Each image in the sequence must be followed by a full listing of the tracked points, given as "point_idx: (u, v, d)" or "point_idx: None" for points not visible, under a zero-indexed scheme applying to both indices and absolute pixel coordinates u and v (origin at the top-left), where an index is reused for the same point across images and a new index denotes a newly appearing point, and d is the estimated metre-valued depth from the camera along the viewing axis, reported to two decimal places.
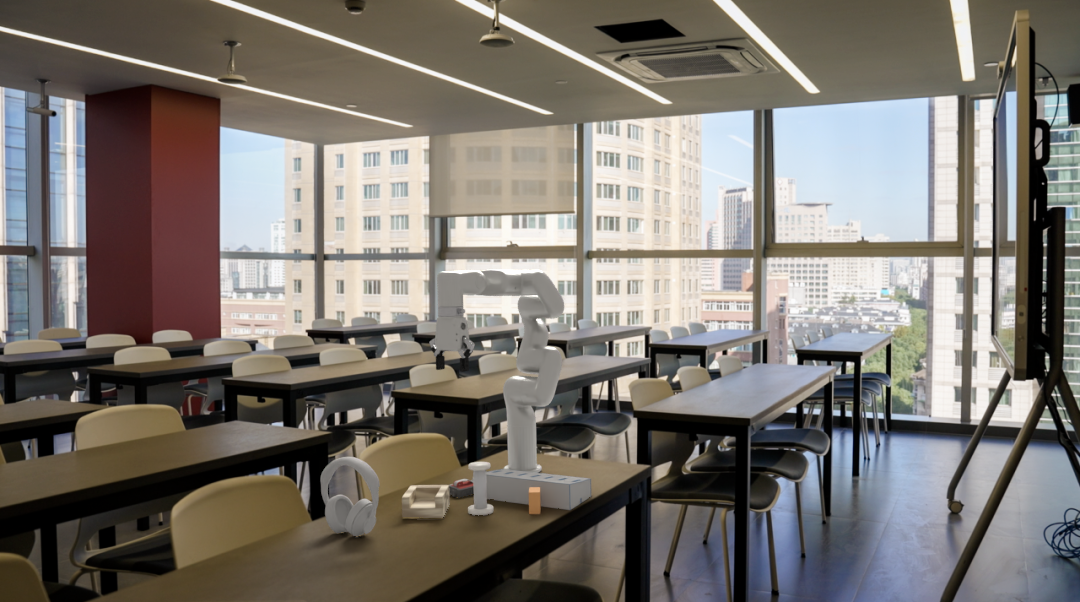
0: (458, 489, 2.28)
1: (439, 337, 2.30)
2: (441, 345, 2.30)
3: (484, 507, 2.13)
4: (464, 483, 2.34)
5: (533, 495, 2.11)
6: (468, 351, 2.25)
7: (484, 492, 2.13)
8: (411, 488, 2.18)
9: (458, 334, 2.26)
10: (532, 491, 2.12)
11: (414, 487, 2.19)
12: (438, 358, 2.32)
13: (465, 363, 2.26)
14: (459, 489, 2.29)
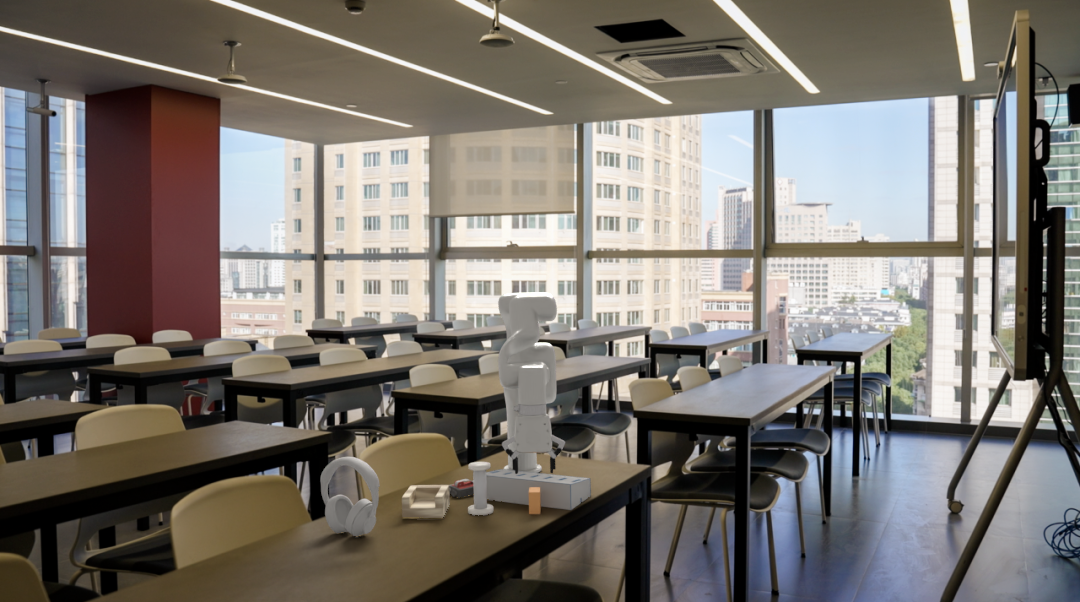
0: (458, 489, 2.28)
1: None
2: None
3: (484, 507, 2.13)
4: (465, 483, 2.34)
5: (533, 495, 2.11)
6: None
7: (484, 492, 2.13)
8: (411, 488, 2.18)
9: None
10: (532, 491, 2.12)
11: (414, 487, 2.19)
12: (550, 458, 2.14)
13: None
14: (459, 489, 2.28)
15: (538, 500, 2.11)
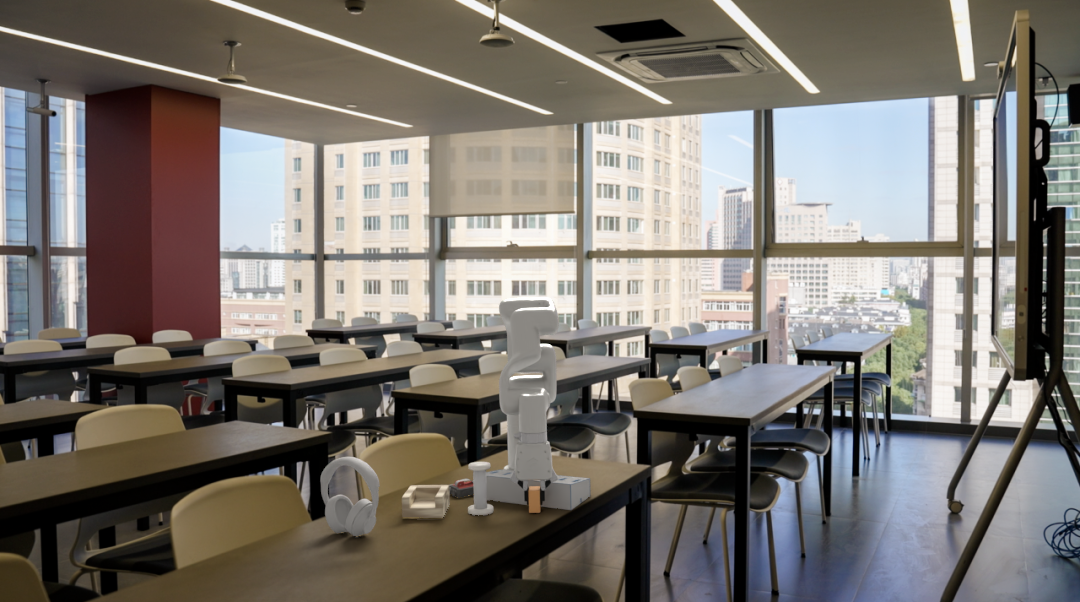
0: (458, 489, 2.28)
1: None
2: None
3: (484, 507, 2.13)
4: (466, 483, 2.34)
5: (533, 494, 2.11)
6: None
7: (484, 492, 2.13)
8: (411, 488, 2.18)
9: None
10: (532, 489, 2.12)
11: (414, 487, 2.19)
12: None
13: None
14: (459, 489, 2.29)
15: (538, 498, 2.11)
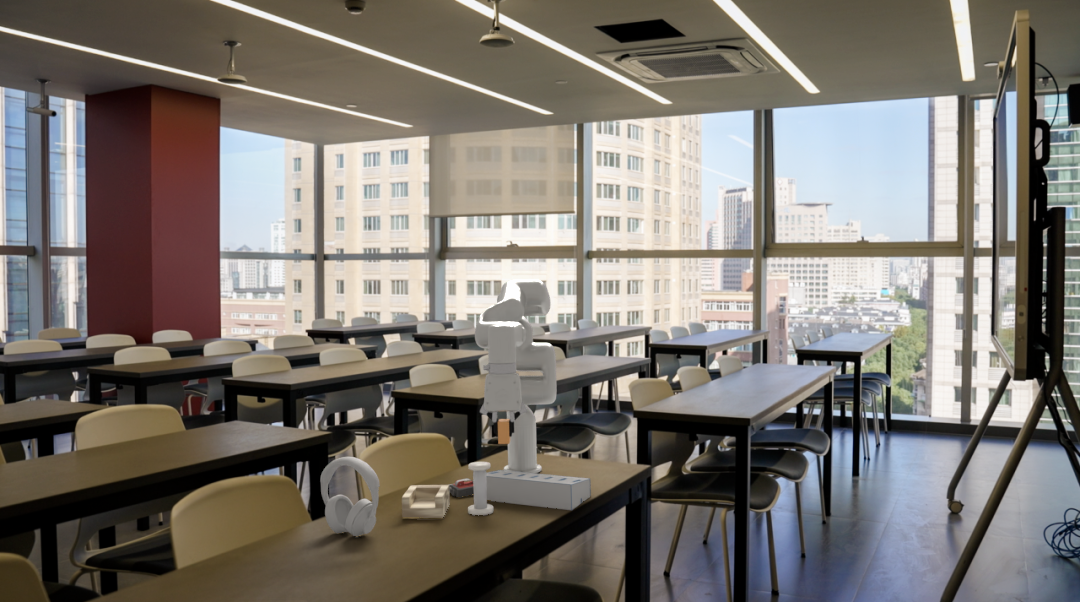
0: (458, 488, 2.29)
1: None
2: None
3: (484, 507, 2.13)
4: (466, 483, 2.34)
5: (502, 425, 2.11)
6: None
7: (484, 492, 2.13)
8: (411, 488, 2.18)
9: None
10: (501, 421, 2.12)
11: (414, 487, 2.19)
12: None
13: None
14: (459, 488, 2.29)
15: (507, 430, 2.11)
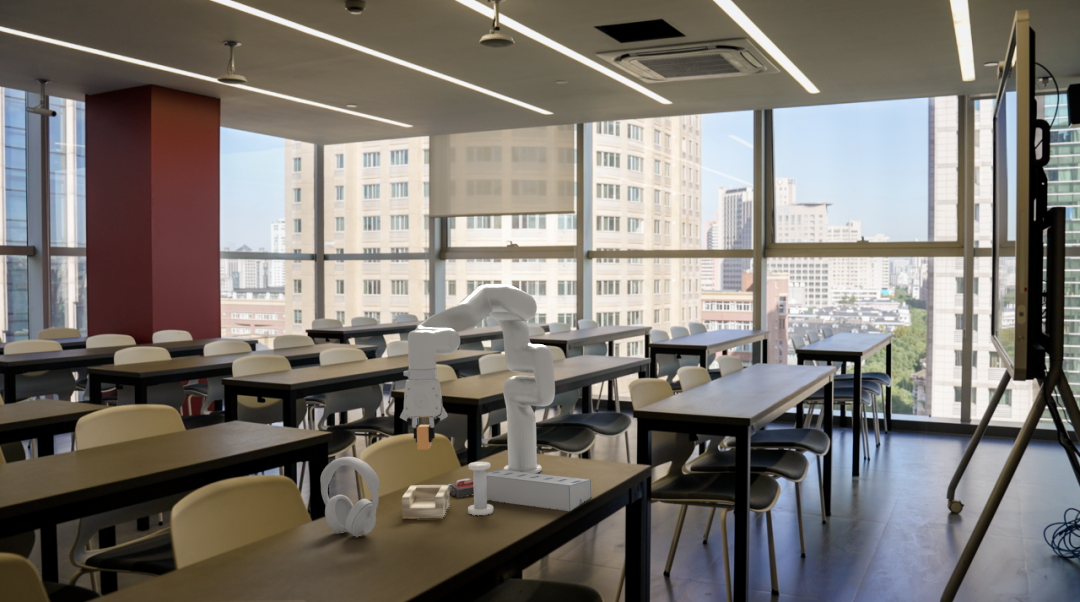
0: (457, 488, 2.29)
1: None
2: None
3: (484, 507, 2.13)
4: (467, 483, 2.34)
5: (421, 430, 2.11)
6: None
7: (484, 492, 2.13)
8: (411, 488, 2.18)
9: None
10: (421, 427, 2.12)
11: (414, 487, 2.19)
12: None
13: None
14: (458, 488, 2.29)
15: (426, 435, 2.11)
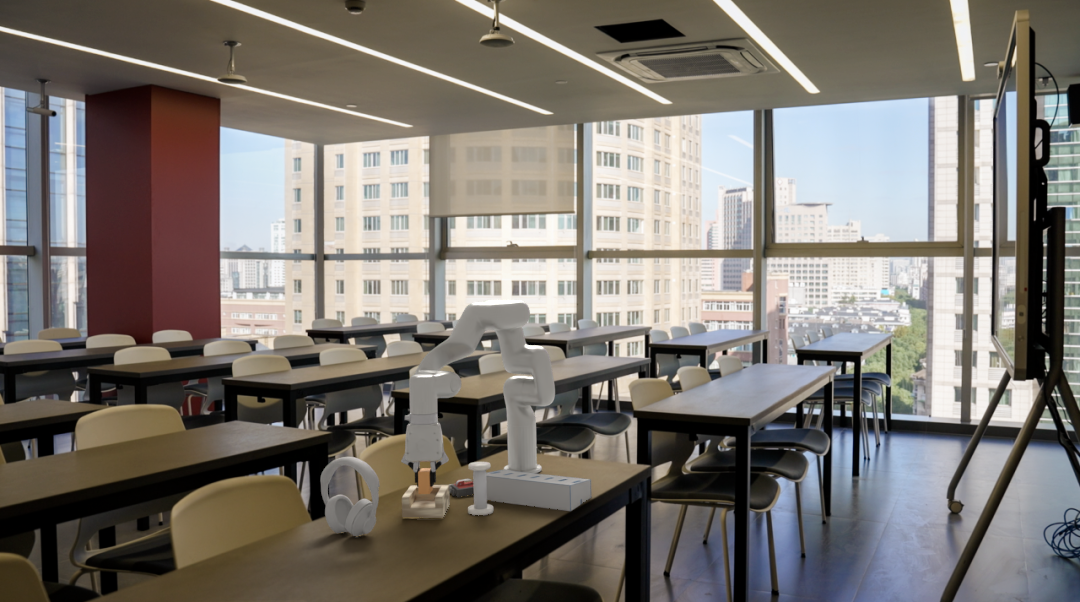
0: (457, 488, 2.29)
1: None
2: None
3: (484, 507, 2.13)
4: (467, 483, 2.34)
5: (422, 475, 2.12)
6: None
7: (484, 492, 2.13)
8: (411, 488, 2.18)
9: None
10: (422, 471, 2.13)
11: (414, 487, 2.19)
12: None
13: None
14: (458, 489, 2.29)
15: (427, 480, 2.12)
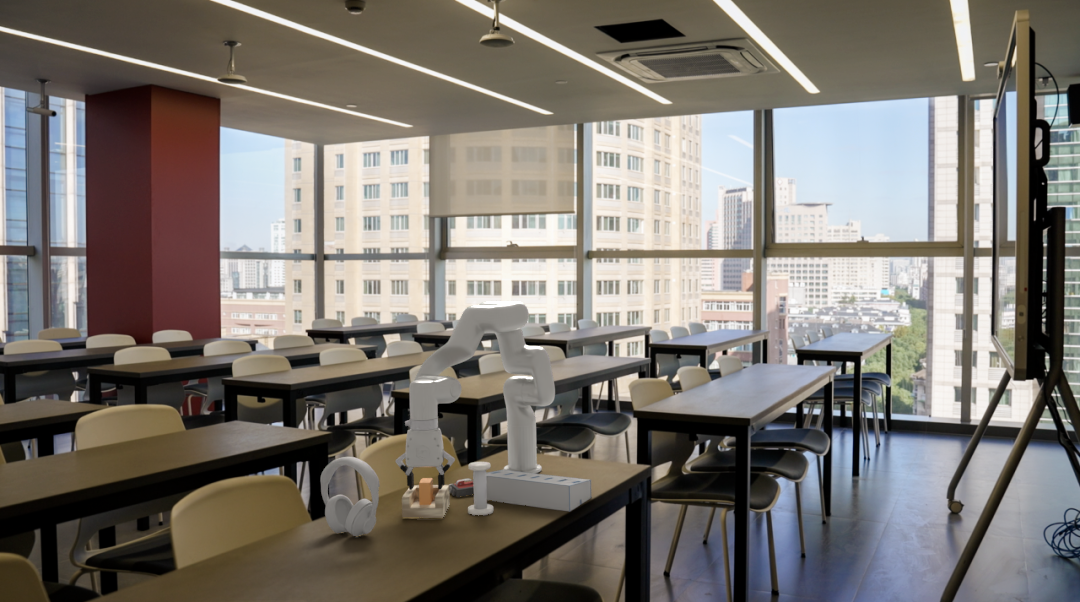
0: (457, 488, 2.29)
1: None
2: None
3: (484, 507, 2.13)
4: (467, 483, 2.34)
5: (423, 486, 2.12)
6: None
7: (484, 492, 2.13)
8: None
9: None
10: (423, 482, 2.13)
11: (414, 487, 2.19)
12: None
13: None
14: (458, 488, 2.29)
15: (428, 491, 2.12)
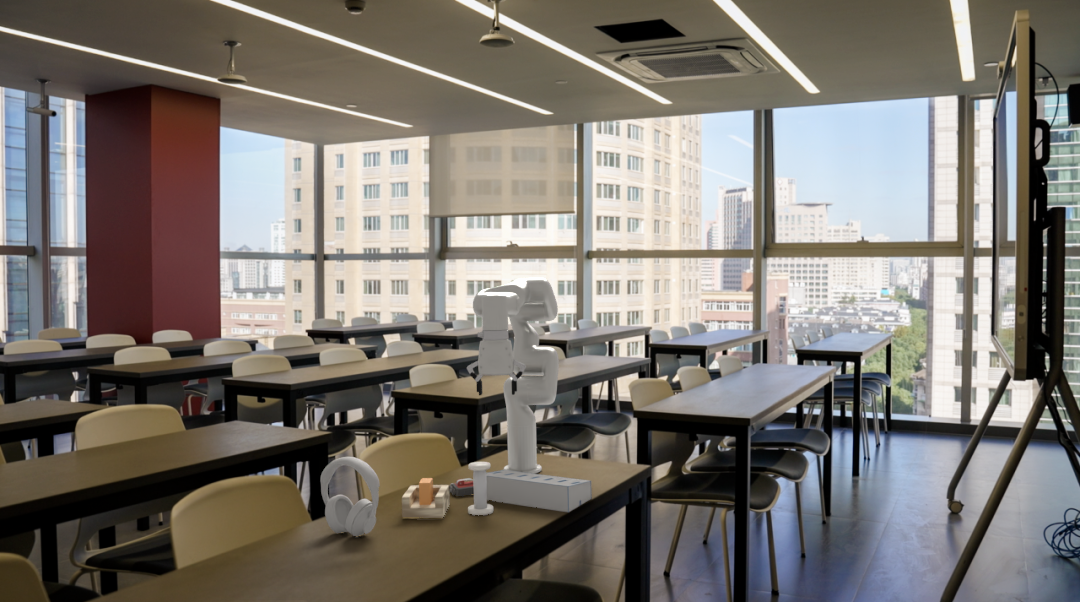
0: (457, 488, 2.30)
1: None
2: None
3: (484, 507, 2.13)
4: (468, 482, 2.34)
5: (423, 486, 2.12)
6: None
7: (484, 492, 2.13)
8: (411, 488, 2.18)
9: None
10: (423, 482, 2.13)
11: (414, 487, 2.19)
12: None
13: None
14: (458, 488, 2.30)
15: (428, 491, 2.12)
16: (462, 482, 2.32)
